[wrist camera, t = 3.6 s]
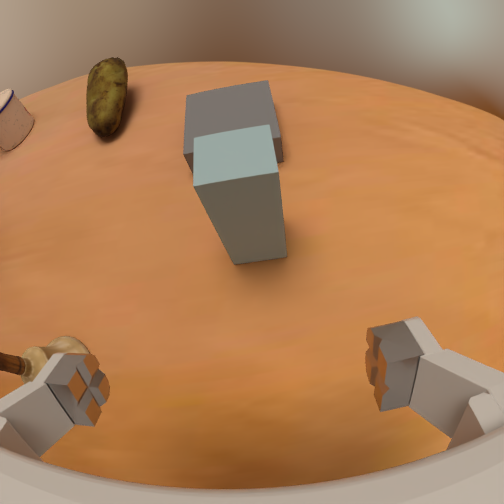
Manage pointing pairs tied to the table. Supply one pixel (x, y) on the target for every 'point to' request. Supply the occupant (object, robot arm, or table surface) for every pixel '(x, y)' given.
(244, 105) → the slate slab
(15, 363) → the hand bell
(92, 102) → the potato
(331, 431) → the table surface
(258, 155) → the teal block
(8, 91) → the teacup with lid
